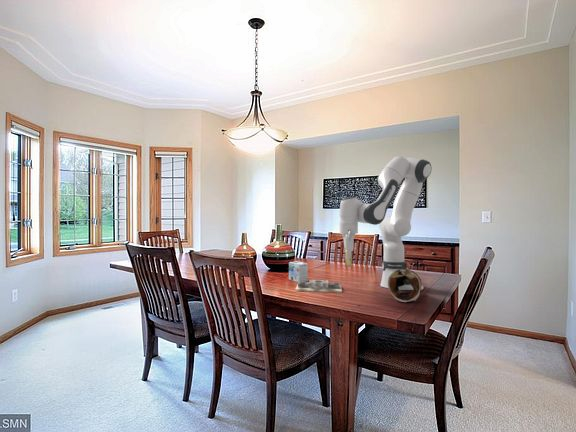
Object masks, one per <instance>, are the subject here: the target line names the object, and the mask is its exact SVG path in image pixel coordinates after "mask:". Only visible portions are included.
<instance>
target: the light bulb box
mask: <svg viewBox="0 0 576 432" xmlns="http://www.w3.org/2000/svg"><path fill="white" fill-rule="evenodd" d="M308 271H309V263H307V262H304V261H303V262H302V261H298V260H296V261H290V262H288V280H290V281H293V282H295V283H299V282H300V281H304V282H308V281H309V278H308V277H309V276H308V275H309V273H308Z"/></svg>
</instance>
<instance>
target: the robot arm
mask: <svg viewBox="0 0 576 432" xmlns="http://www.w3.org/2000/svg"><path fill="white" fill-rule="evenodd" d="M431 173H432V165H431V162H430V161H429V160H426V159H420V158H417V157H406V156H405V157H404V156H400V155H398V156H395V157H393V158H391V160H390V161H389V162H387V164H386V165H385V166H384V168H382V170H381V172H380V173H379V174H378V177H377V182H378V185H379V186H380V188H381V189H382V191H381V193H380V194H379V196H378V198H377V199H376V200H375V201H374V202H372V203H365V202H363V201H362V200H361V201H360V200H359V199H358V198H357V197H356V196H348V197H344V198H342V199H341V201H340V205H339V217H340V220H339V234H340V235H342V239H343V246H344V249H346V251H347V258H348V259H350V258H351V251H352V252H353V251H354V247H355V246H354V242H355V241H354V238H355V237H356V234H358V232H359V229H358V228H359V223H361V224H370V225H374V226H375V225H377V226H378V227H379V230H380V233H381V239H382V245H383V247H382V248H383V260H382V264H381V265H382V267H381V269H382V276H381V281H380V285H379V286H380V287H382V288H385V289H389V288H388V279H389V276H390V275H391V274H392V273H393V272H394V271H396V270H399V269H409V267H411V264H410V262H407V261H406V260H405V246H404V243H403V241H402V237H406V236H407V235H408V234H409V233H410V232H411V229H412V224H411V220H412V214H413V211H414V208H415V206H416V204H417V202H418V200H419V198H420V195H421V191H422V189H423V184H424V182H425V181H426V180H427V179H428V178H429V176H430V175H431ZM403 179H404V180H403ZM402 181H403V182H402ZM401 182H402V184H401ZM400 184H401V185H400ZM399 186H400V187H399ZM394 198H395V199H394ZM393 199H394V201H393ZM392 202H393V205H392V207H393V208H392V213H391V215H387V211H388V208H389V207H390V205H391V203H392ZM386 215H387V216H386ZM398 289H399V291H413V290H414V289H413V287H412V285H411V284H410V285H403V286H400V287H398ZM423 289H424V285H422V286H421V290H423Z"/></svg>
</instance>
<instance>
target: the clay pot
mask: <svg viewBox="0 0 576 432" xmlns="http://www.w3.org/2000/svg"><path fill="white" fill-rule="evenodd" d="M410 284H411V285H412V287H413V289H414V290H411V292H409V293H401V292H400V290H399V289H398V287H400V286H403V285H410ZM421 286H423V285H422V279H421V277H420V276H419V275H418V274H417V273H416V272H415V271H414V270H411V269H409V268H408V269H399V270H396V271H394V272H393V273H392V274H391V275H390V276H389V279H388V288H387V289H388V290H389V293H390V294H391V295H392V297H393V298H394V299H395V300H396V301H399V302H403V303H407V302H416V301H417V299H418V298H419V297H420V293H421Z"/></svg>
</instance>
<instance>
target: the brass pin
mask: <svg viewBox="0 0 576 432" xmlns="http://www.w3.org/2000/svg"><path fill="white" fill-rule="evenodd" d="M344 249H345V248H344ZM344 252H345V253H344V255H345V256H344V257H345V258H344V259H345V260H344V261H345V263H344V264H345V267H346V268H347V267H348V268H350V267H352V262H353V261H352V260H353V259H352V255H353V254H352V252H353V251H351V258H350V259H348V258H347V251H346V249H345V251H344Z"/></svg>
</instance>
